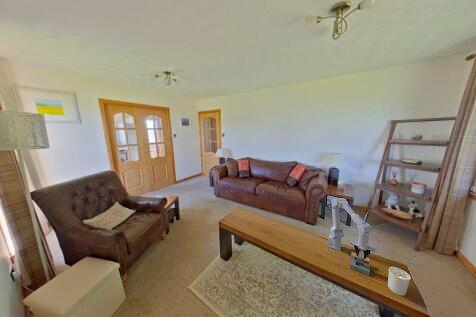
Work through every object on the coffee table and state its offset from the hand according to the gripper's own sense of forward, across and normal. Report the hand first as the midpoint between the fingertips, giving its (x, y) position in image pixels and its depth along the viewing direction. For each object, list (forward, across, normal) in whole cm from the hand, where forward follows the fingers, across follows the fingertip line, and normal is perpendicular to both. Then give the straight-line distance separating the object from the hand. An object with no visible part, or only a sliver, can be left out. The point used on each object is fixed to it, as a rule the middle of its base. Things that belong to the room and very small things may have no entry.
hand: (360, 256), depth 118 cm
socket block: (+9, 0, +2) cm, 9 cm away
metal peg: (+2, 0, 0) cm, 3 cm away
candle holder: (+10, +19, -6) cm, 22 cm away
